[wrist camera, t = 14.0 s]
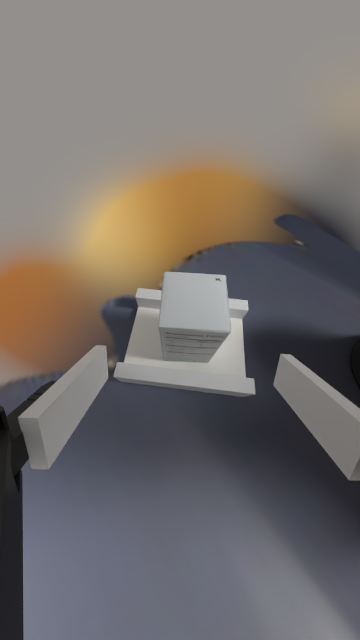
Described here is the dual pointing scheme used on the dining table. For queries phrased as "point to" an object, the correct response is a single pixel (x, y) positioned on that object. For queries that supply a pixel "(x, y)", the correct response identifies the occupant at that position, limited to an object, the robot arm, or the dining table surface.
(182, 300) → the supplement box
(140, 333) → the tray
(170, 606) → the dining table surface
